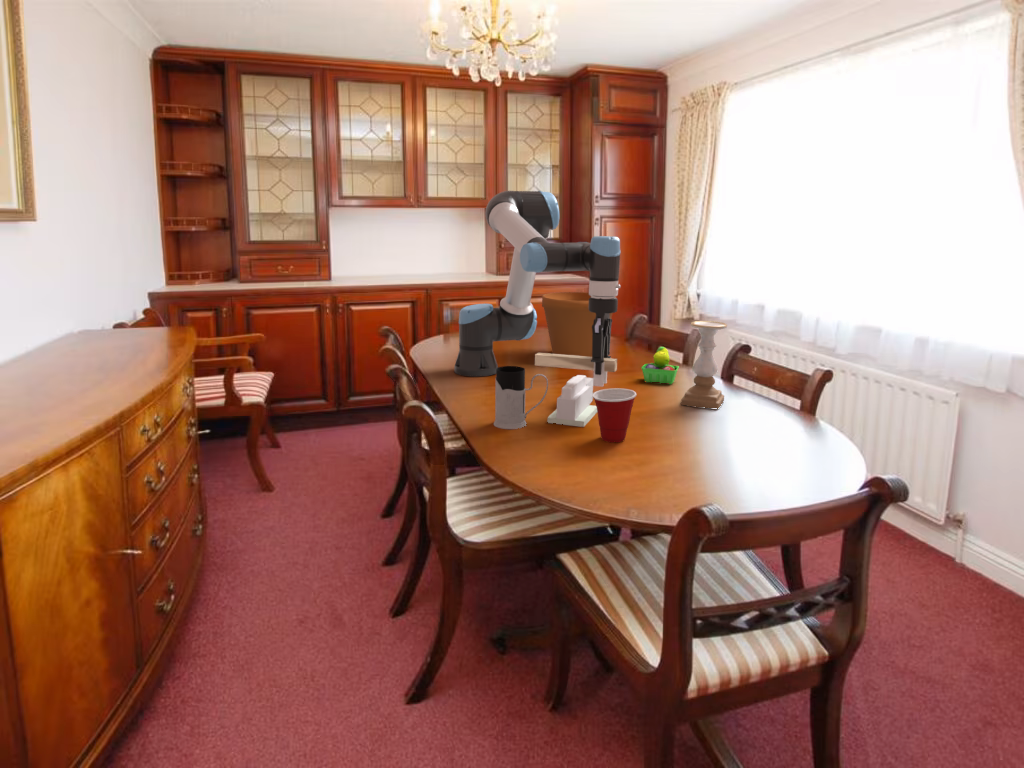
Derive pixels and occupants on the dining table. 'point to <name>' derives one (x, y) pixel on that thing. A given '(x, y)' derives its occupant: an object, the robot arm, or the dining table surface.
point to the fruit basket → (660, 368)
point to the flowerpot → (569, 322)
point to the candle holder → (705, 369)
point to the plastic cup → (614, 412)
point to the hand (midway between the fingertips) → (599, 384)
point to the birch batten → (572, 362)
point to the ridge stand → (574, 404)
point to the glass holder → (511, 397)
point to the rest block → (588, 383)
